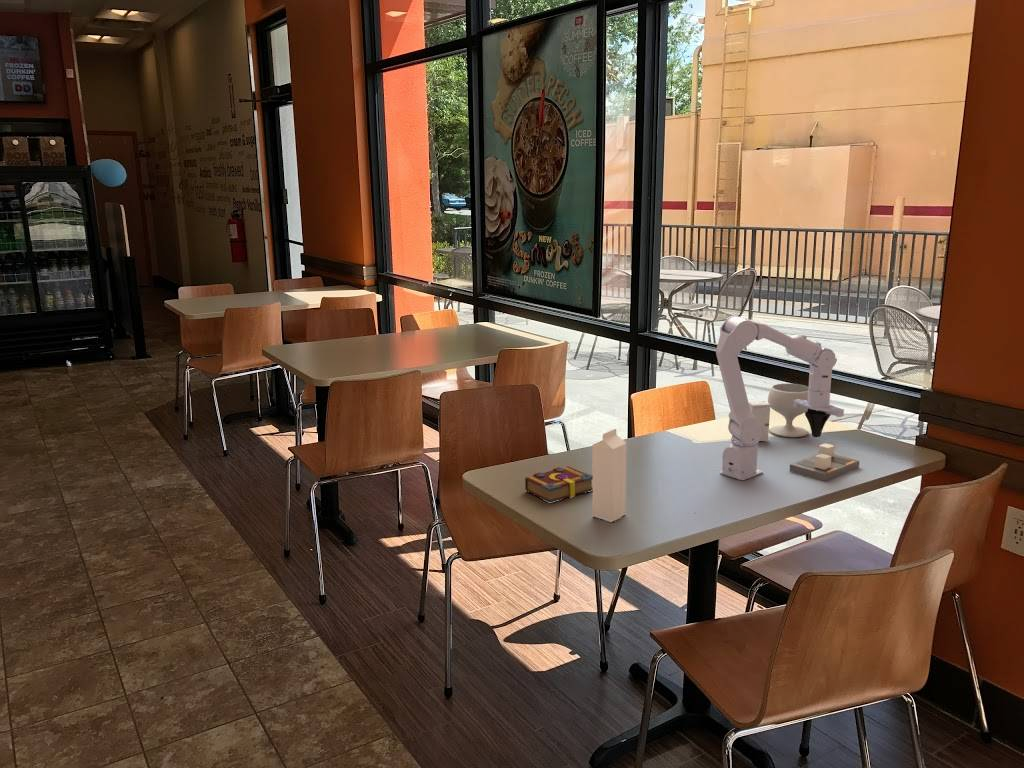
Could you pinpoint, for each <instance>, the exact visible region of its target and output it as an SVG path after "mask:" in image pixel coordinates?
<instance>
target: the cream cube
mask: <svg viewBox="0 0 1024 768" xmlns="http://www.w3.org/2000/svg"><path fill="white" fill-rule="evenodd" d="M817 454H818V455H819V454H825V455H828V456H831V457H834V454H835V445H832V444H829V443H826V442H825V443H823V444H820V445H818V452H817Z"/></svg>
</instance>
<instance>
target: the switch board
mask: <svg viewBox="0 0 1024 768" xmlns="http://www.w3.org/2000/svg"><path fill="white" fill-rule="evenodd" d="M817 455H818V453H817V454H814V455H811V456H808V457H806V458H803V459H801V460H797V461H795V462H793V463H790V464H789V472H792V473H795V474H799V475H802V476H805V477H809V478H812V479H816V480H819V481H822V482H827V481H828V480H832V479H834V478H837V477H839V476H842V475H844V474H846V473H847V474H848V473H850V472H851V471H854V470H856V469H858V468H859V469H860V460H857V459H855V458H850V457H846V456H842V455H839V454H835V453H834V457H831V467H830V468H827V469H825V470H823V469H819V468H815V467H814V462H815V456H817Z"/></svg>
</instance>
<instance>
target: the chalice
mask: <svg viewBox="0 0 1024 768" xmlns="http://www.w3.org/2000/svg"><path fill="white" fill-rule="evenodd" d="M808 389H809V385H804V384H799V383H788V382H787V383H778V384H774V385H772V387H771V388H770V390H769V393H768V396H767V403H769V404H770V409H772V410H773V411H775V412H777V413H778V414H780V415H782V417H783V418H784V419H785V421H786V423H785V425H776V426H773V427H769V432H770V433H771V434H773V435H776V436H779V437H784V438H785V437H786V438H801V437H806V436H808V435H809V434H810V432H809V431H808V430H807V429H805V428H802V427H799V426H795V425H793V422H794V420H795V419H796V418H797V417H798V416H800V415H803V414H805V412H807V411H808V409H804V408H800V407H793V406H794V400H797V399H799V400H806V401H808Z"/></svg>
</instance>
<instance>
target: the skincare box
mask: <svg viewBox="0 0 1024 768" xmlns="http://www.w3.org/2000/svg"><path fill="white" fill-rule="evenodd" d="M748 403H749V407H750V410H751V412H752V414H753V415H754V417H755V419H756V423H757V424H758V426H759V427H760V428H761V430H762V438H761V440H760V441H766V442H768V441H769V432H770V431H769V429H770V415H771V407H770V404H769V403H768V401H765V400H764V401H748Z"/></svg>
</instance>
